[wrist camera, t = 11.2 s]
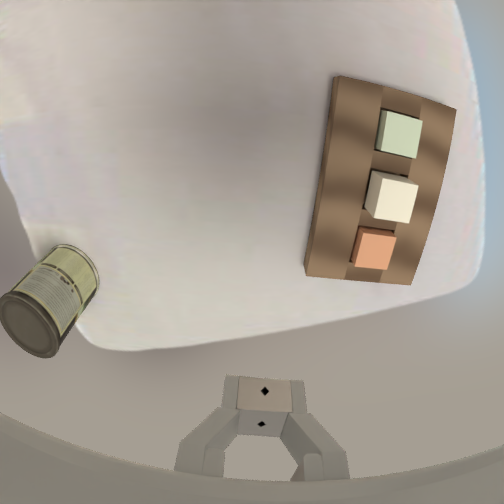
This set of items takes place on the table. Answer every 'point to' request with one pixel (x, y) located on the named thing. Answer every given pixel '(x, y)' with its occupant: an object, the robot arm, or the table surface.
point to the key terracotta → (372, 247)
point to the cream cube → (390, 197)
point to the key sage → (398, 134)
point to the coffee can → (49, 300)
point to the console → (359, 173)
